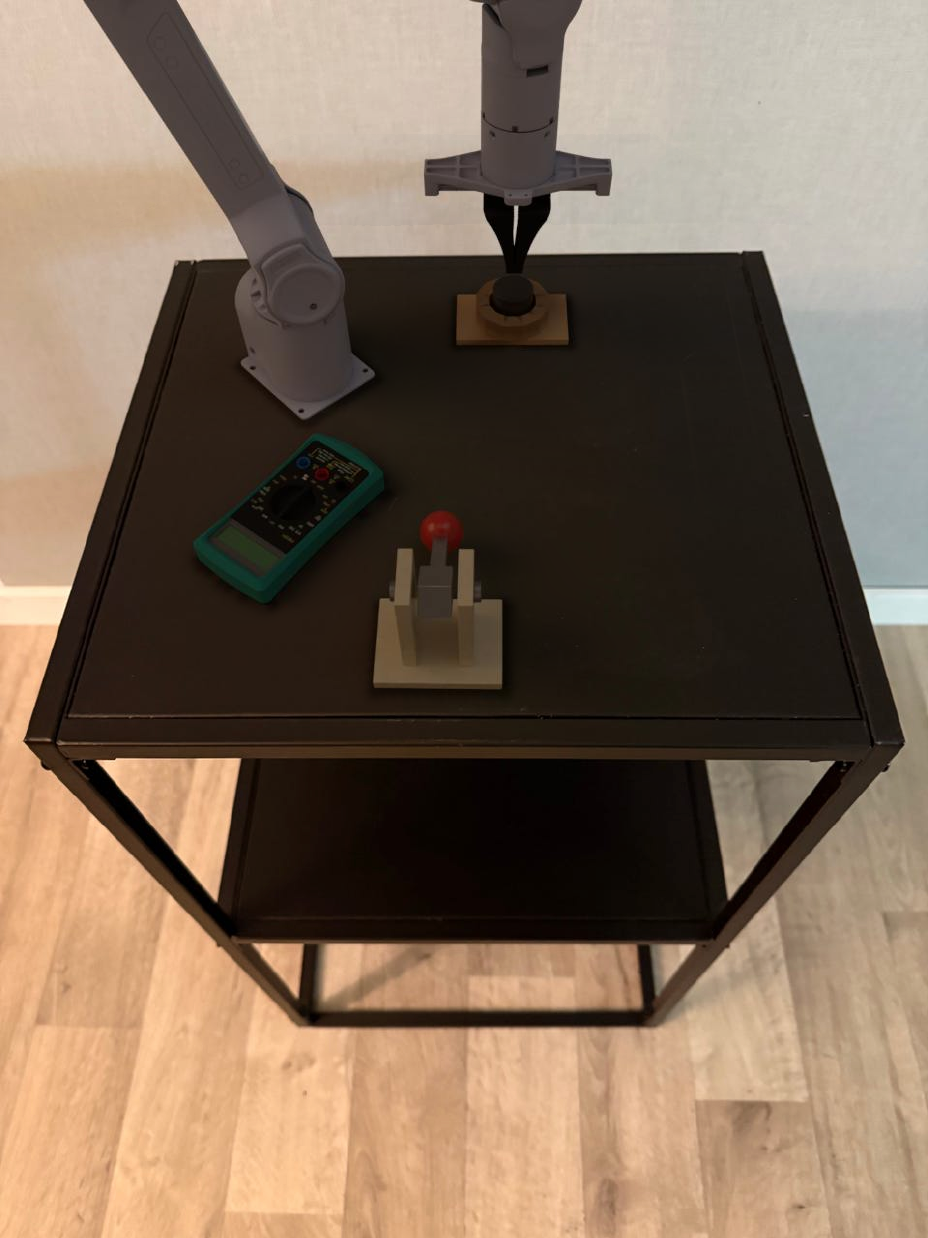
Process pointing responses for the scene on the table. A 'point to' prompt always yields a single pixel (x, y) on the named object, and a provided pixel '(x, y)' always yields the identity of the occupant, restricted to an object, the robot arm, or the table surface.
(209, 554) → the digital multimeter
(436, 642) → the switch bracket
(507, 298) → the button
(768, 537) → the table surface
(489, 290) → the button block
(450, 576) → the switch lever
